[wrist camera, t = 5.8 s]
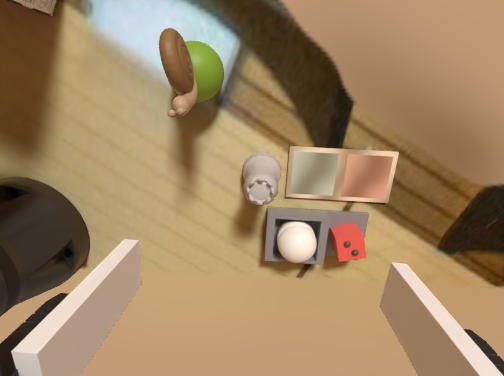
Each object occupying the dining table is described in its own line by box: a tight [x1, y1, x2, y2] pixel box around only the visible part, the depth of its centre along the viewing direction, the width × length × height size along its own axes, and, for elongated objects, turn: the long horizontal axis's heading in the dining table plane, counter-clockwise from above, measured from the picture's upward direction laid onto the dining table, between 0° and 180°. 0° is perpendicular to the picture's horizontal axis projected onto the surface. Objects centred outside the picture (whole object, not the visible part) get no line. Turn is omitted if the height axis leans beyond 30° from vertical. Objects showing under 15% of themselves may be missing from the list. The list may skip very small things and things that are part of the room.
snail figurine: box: [159, 28, 224, 117], centre depth 23 cm, size 5×6×12 cm
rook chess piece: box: [243, 152, 281, 205], centre depth 28 cm, size 4×4×8 cm
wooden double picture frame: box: [285, 146, 399, 203], centre depth 31 cm, size 12×6×1 cm, turn 87°
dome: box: [277, 219, 317, 263], centre depth 31 cm, size 4×4×4 cm
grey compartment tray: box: [265, 207, 369, 265], centre depth 32 cm, size 12×6×4 cm, turn 87°
